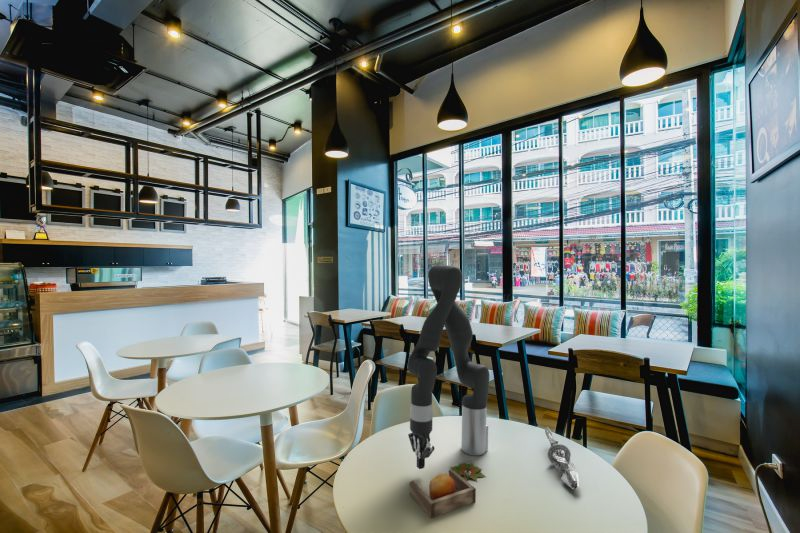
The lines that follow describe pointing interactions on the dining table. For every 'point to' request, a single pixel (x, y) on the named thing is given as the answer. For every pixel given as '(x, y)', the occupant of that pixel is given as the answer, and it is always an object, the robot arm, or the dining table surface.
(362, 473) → the dining table surface
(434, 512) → the brown wooden u-shaped frame
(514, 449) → the dining table surface
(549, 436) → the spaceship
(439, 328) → the robot arm
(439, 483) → the fruit
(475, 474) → the lily flower
